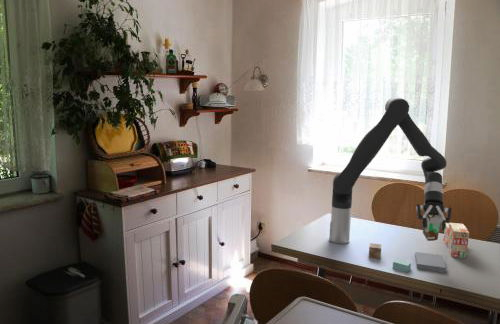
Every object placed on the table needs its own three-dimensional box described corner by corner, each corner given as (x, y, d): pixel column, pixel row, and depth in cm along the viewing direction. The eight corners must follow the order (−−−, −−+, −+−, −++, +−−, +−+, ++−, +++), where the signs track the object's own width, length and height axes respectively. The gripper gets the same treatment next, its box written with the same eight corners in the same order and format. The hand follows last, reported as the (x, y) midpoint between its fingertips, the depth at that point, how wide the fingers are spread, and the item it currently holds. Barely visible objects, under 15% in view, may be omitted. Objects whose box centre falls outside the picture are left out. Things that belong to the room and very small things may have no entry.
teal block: (392, 268, 171) (393, 261, 171) (395, 265, 174) (396, 258, 174) (407, 272, 168) (408, 265, 167) (410, 269, 171) (410, 262, 170)
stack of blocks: (443, 240, 205) (445, 216, 203) (456, 242, 203) (459, 218, 201) (451, 256, 185) (453, 230, 183) (466, 258, 183) (469, 232, 181)
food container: (444, 243, 168) (446, 219, 166) (428, 241, 169) (430, 218, 167) (437, 233, 180) (439, 210, 178) (421, 231, 181) (424, 209, 179)
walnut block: (368, 257, 182) (369, 246, 181) (369, 253, 186) (369, 243, 186) (380, 259, 180) (381, 248, 179) (380, 255, 185) (381, 244, 184)
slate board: (416, 268, 172) (417, 263, 171) (414, 255, 185) (415, 251, 184) (445, 272, 168) (446, 267, 168) (441, 259, 181) (442, 255, 181)
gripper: (416, 188, 180) (416, 222, 171) (453, 191, 176) (454, 226, 167) (415, 197, 186) (414, 230, 177) (450, 200, 182) (451, 235, 173)
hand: (433, 228), depth 172 cm, fingers closed on food container, 6 cm apart
